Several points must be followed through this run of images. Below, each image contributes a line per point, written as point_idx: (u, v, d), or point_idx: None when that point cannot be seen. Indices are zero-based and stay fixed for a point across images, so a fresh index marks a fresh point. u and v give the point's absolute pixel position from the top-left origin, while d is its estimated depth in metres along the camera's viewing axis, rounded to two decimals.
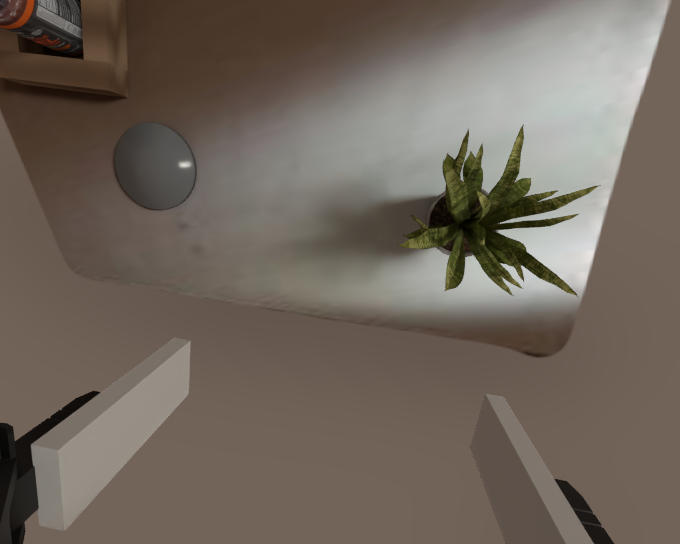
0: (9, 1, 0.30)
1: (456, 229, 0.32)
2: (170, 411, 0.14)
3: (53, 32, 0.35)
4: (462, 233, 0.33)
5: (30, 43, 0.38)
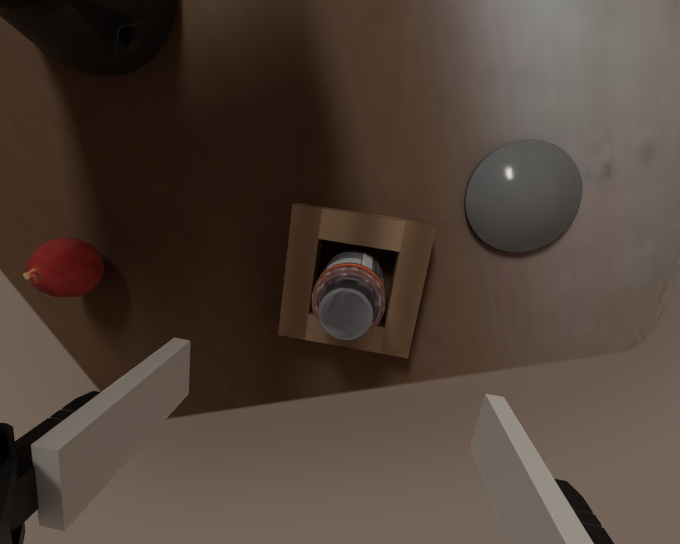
0: (368, 281, 0.26)
1: None
2: (169, 411, 0.14)
3: (377, 270, 0.30)
4: None
5: None
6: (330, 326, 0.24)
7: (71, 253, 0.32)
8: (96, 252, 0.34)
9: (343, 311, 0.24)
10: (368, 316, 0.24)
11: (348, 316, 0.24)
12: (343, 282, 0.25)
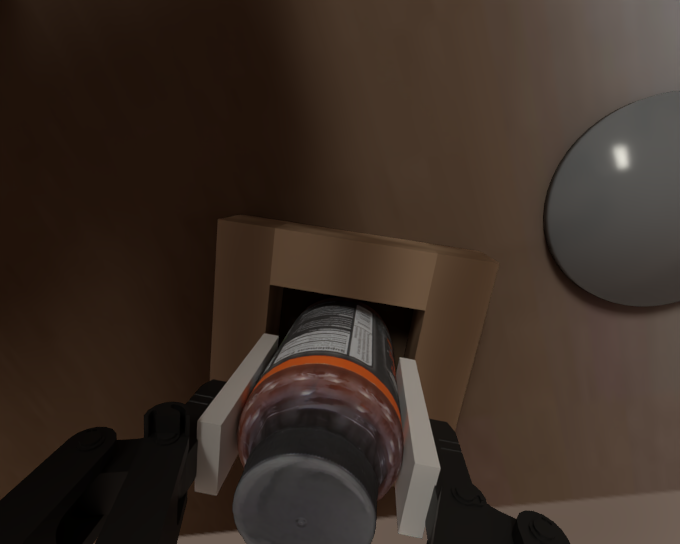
0: (363, 411, 0.11)
1: None
2: None
3: (383, 352, 0.15)
4: None
5: None
6: None
7: None
8: None
9: (297, 512, 0.09)
10: (363, 527, 0.09)
11: (311, 524, 0.09)
12: (302, 417, 0.10)
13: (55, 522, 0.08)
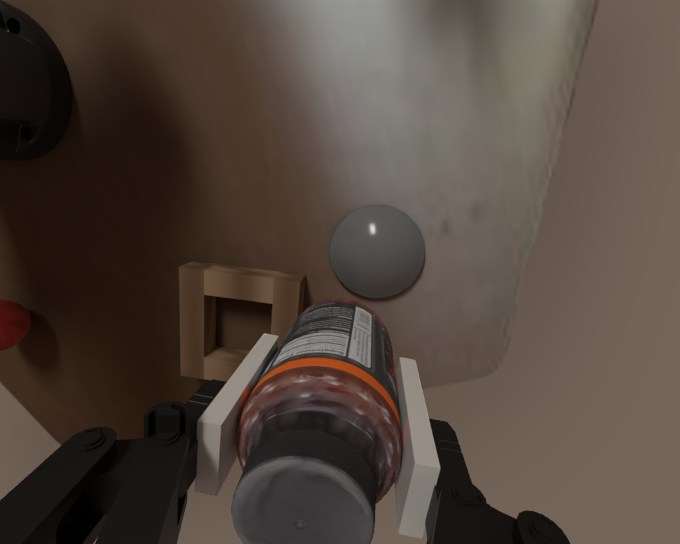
0: (361, 413, 0.11)
1: None
2: None
3: (382, 354, 0.15)
4: None
5: None
6: None
7: None
8: (20, 310, 0.39)
9: (295, 515, 0.09)
10: (362, 530, 0.09)
11: (310, 526, 0.09)
12: (300, 419, 0.10)
13: (55, 522, 0.08)
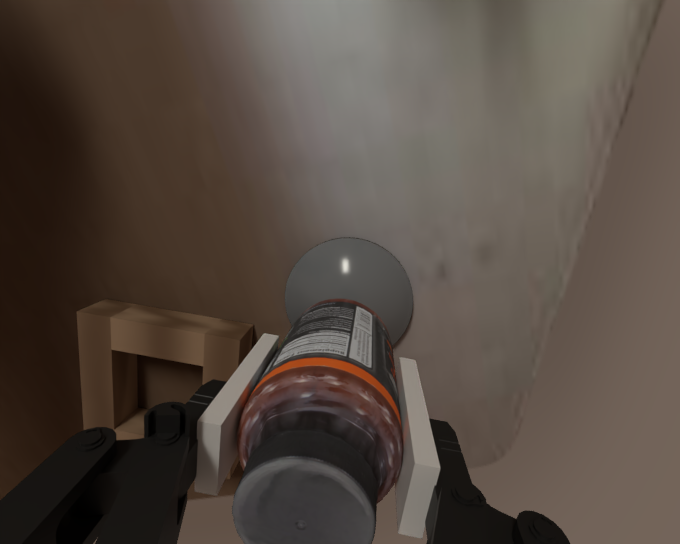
0: (362, 413, 0.11)
1: None
2: None
3: (383, 354, 0.15)
4: None
5: None
6: None
7: None
8: None
9: (296, 515, 0.09)
10: (363, 530, 0.09)
11: (311, 527, 0.09)
12: (301, 419, 0.10)
13: (55, 521, 0.08)
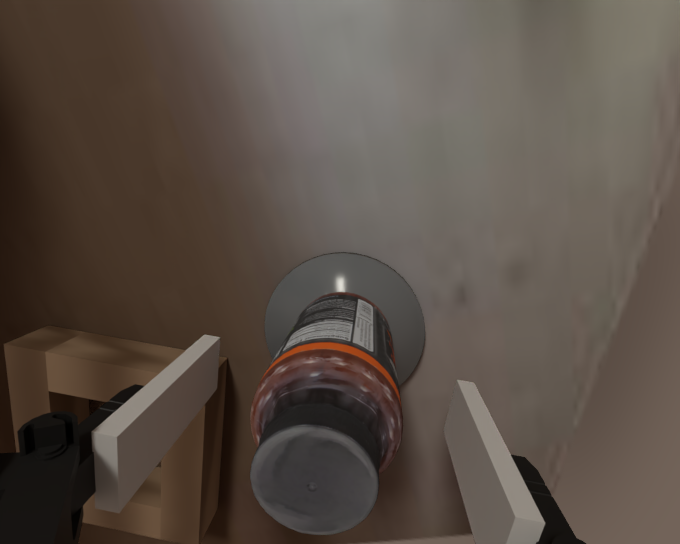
0: (366, 390, 0.12)
1: None
2: (201, 405, 0.15)
3: (384, 341, 0.16)
4: None
5: (153, 486, 0.24)
6: (279, 507, 0.11)
7: None
8: None
9: (308, 478, 0.10)
10: (368, 490, 0.10)
11: (321, 488, 0.10)
12: (311, 395, 0.11)
13: None
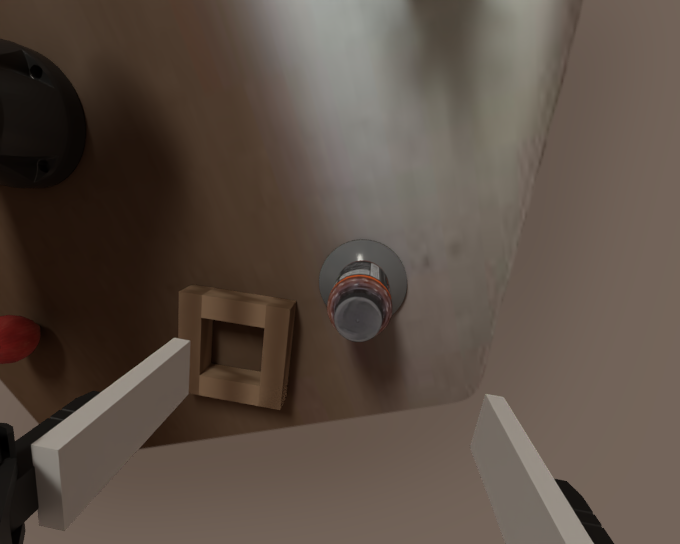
0: (376, 290, 0.29)
1: None
2: (170, 411, 0.14)
3: (384, 279, 0.34)
4: None
5: (252, 378, 0.42)
6: (345, 330, 0.28)
7: (7, 330, 0.40)
8: (31, 325, 0.42)
9: (356, 317, 0.28)
10: (378, 320, 0.28)
11: (361, 321, 0.28)
12: (355, 291, 0.29)
13: None
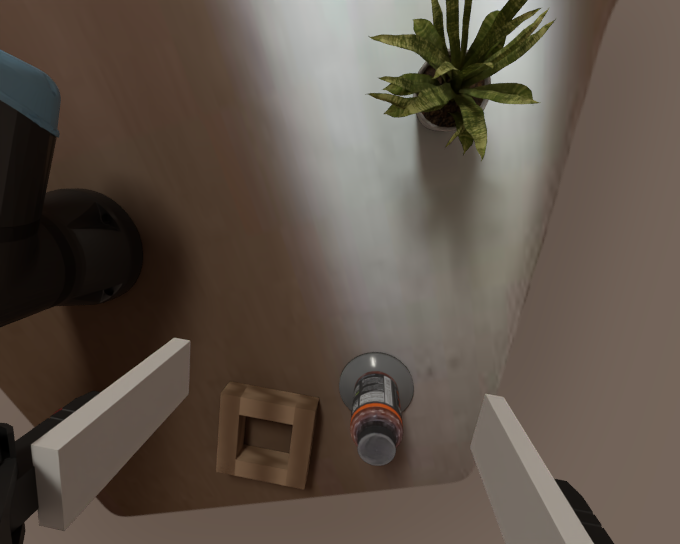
0: (391, 421, 0.37)
1: (461, 96, 0.30)
2: (170, 411, 0.14)
3: (395, 399, 0.41)
4: (465, 89, 0.30)
5: (280, 460, 0.49)
6: (366, 457, 0.35)
7: None
8: None
9: (375, 448, 0.35)
10: (392, 451, 0.35)
11: (379, 451, 0.35)
12: (374, 423, 0.36)
13: None
